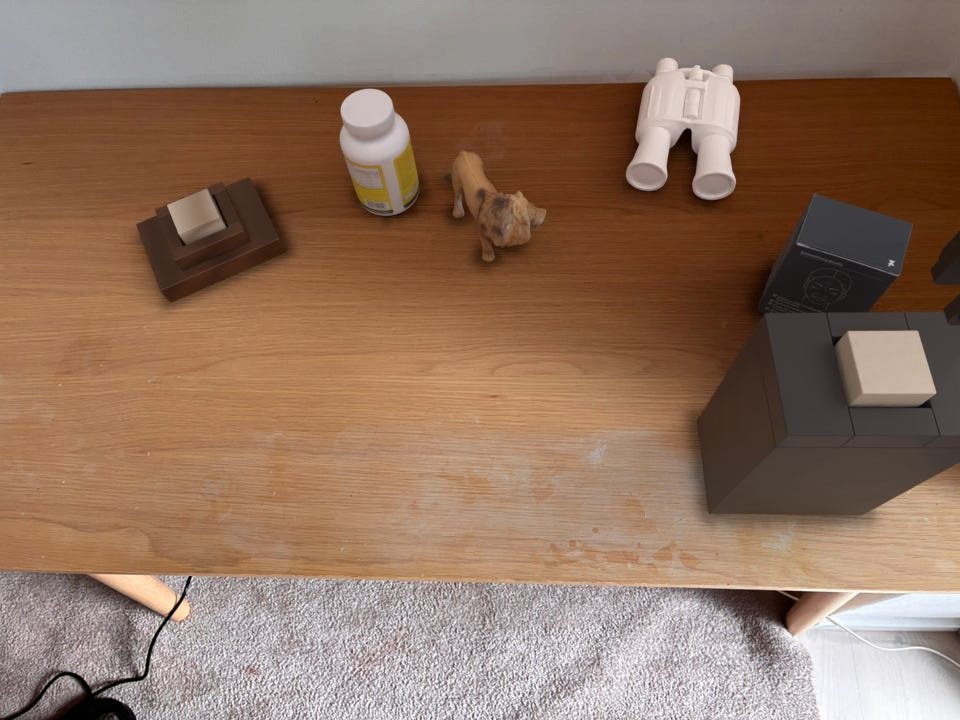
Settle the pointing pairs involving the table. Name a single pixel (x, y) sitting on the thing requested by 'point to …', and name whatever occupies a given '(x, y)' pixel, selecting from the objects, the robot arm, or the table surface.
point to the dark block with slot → (824, 420)
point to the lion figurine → (491, 206)
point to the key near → (883, 369)
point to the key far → (196, 216)
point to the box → (836, 260)
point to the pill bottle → (378, 153)
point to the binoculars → (687, 106)
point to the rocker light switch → (211, 242)
